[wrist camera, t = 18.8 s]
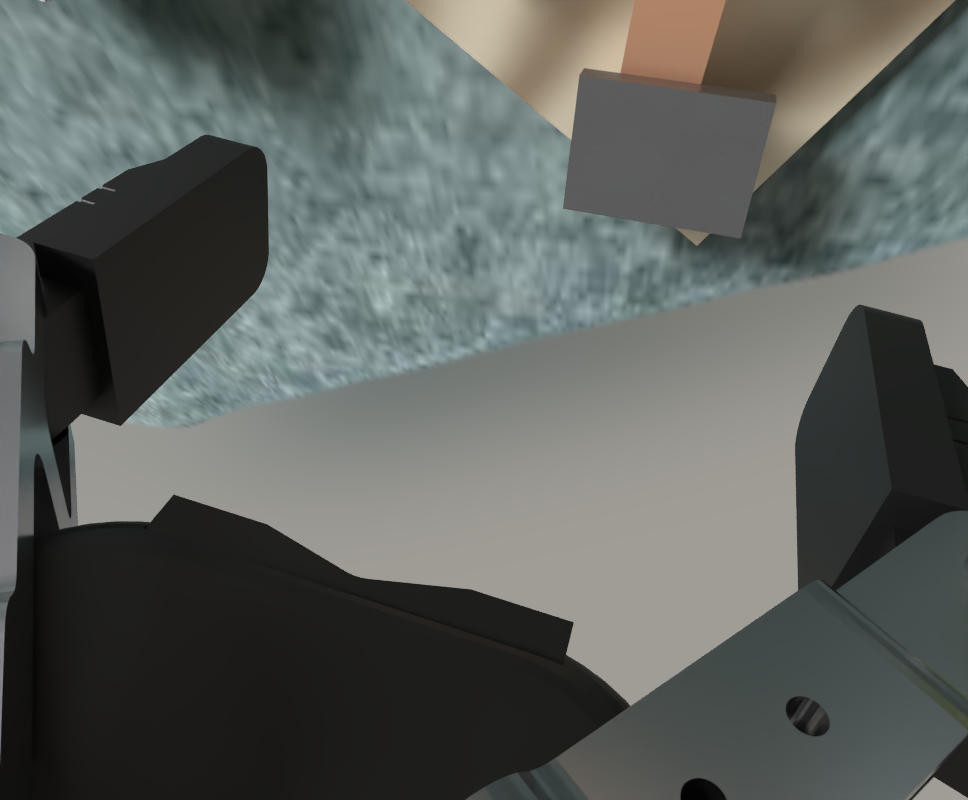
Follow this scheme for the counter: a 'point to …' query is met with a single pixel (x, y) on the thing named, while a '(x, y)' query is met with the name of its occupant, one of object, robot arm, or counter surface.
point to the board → (732, 62)
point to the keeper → (666, 151)
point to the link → (671, 38)
